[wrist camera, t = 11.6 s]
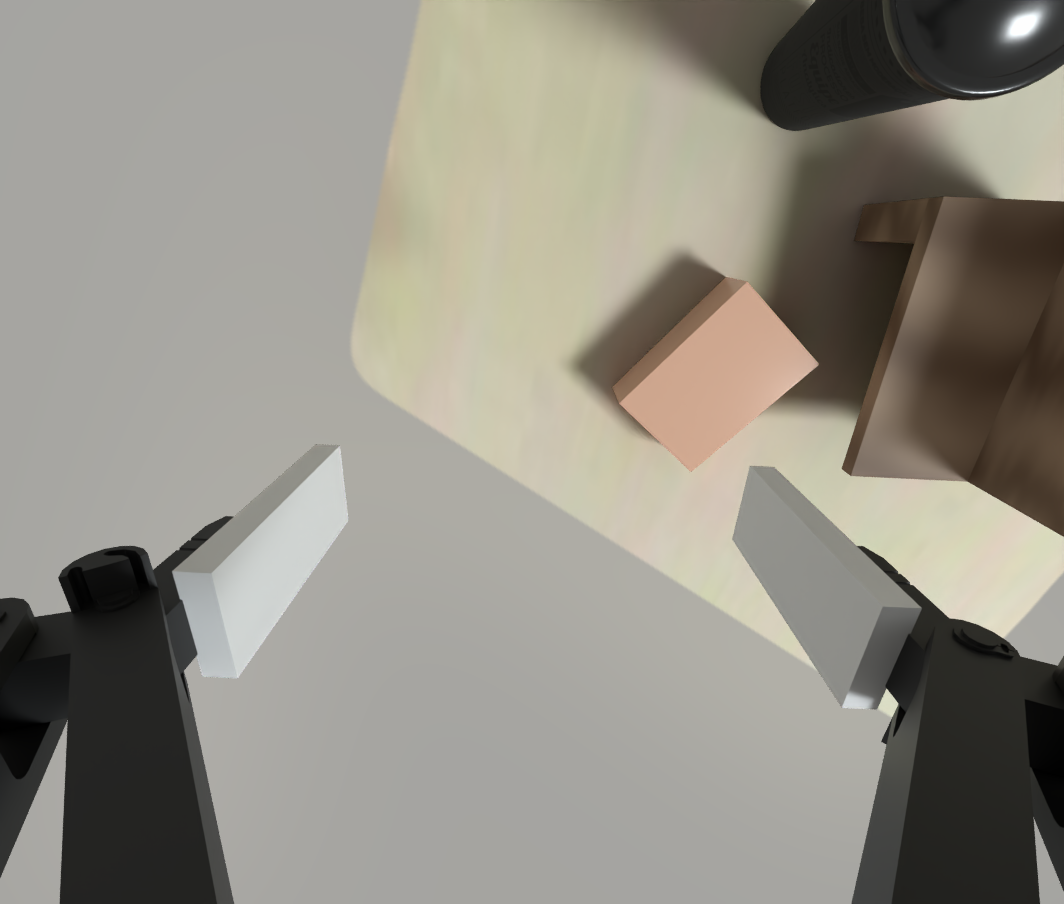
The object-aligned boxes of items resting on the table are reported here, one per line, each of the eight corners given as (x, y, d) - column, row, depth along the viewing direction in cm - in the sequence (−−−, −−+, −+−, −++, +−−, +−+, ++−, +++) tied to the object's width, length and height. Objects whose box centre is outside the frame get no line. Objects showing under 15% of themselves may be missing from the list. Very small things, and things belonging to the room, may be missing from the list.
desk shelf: (863, 205, 30) (1107, 178, 17) (1014, 211, 30) (1373, 190, 17) (799, 436, 36) (942, 547, 23) (924, 442, 36) (1139, 556, 23)
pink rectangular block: (611, 386, 35) (619, 403, 31) (724, 276, 32) (747, 281, 28) (676, 448, 37) (691, 471, 33) (789, 350, 34) (819, 364, 30)
